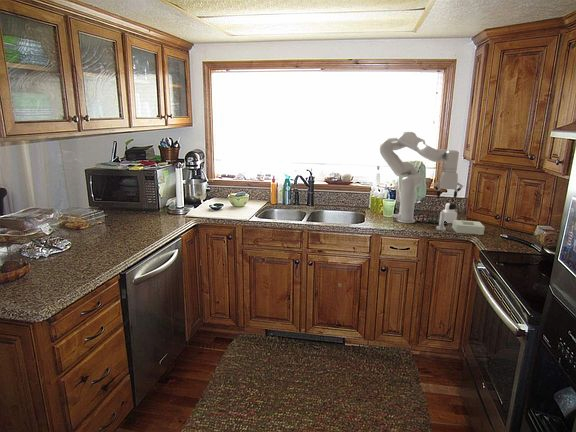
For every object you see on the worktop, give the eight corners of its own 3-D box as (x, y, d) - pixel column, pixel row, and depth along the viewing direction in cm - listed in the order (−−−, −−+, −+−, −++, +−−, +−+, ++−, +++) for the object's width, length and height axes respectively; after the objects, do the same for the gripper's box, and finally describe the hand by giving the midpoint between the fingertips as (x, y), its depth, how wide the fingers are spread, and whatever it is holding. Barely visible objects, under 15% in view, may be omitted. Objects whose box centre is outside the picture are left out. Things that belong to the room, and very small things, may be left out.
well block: (456, 232, 248) (457, 225, 247) (452, 227, 261) (453, 219, 259) (483, 234, 245) (484, 227, 244) (478, 229, 258) (479, 221, 256)
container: (452, 220, 277) (455, 202, 274) (456, 223, 269) (458, 205, 266) (441, 220, 278) (443, 202, 274) (444, 223, 270) (446, 204, 267)
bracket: (437, 229, 254) (439, 213, 251) (436, 227, 260) (438, 211, 257) (445, 230, 253) (447, 213, 250) (444, 228, 259) (446, 211, 256)
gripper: (436, 170, 245) (432, 197, 250) (466, 172, 242) (462, 199, 246) (434, 168, 252) (431, 195, 257) (463, 170, 249) (459, 197, 253)
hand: (446, 197), depth 251 cm, fingers open, 9 cm apart
